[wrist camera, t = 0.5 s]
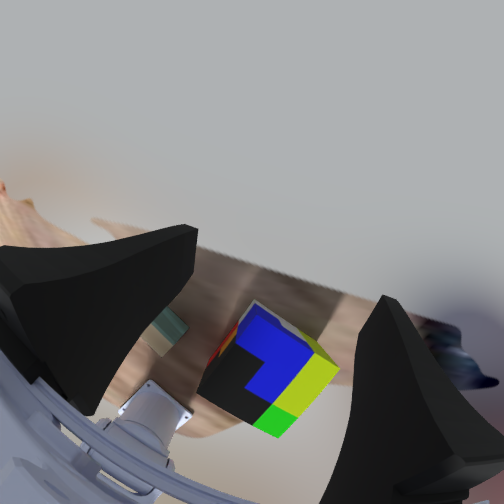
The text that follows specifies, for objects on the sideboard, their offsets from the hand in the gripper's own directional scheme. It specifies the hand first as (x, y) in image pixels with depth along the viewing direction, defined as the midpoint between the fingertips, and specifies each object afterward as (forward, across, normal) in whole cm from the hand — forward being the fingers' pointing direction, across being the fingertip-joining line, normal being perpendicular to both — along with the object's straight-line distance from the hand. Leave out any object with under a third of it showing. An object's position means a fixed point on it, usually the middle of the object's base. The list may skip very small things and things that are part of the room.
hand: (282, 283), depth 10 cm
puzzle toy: (+15, 0, +22) cm, 27 cm away
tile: (+13, +12, +21) cm, 28 cm away
